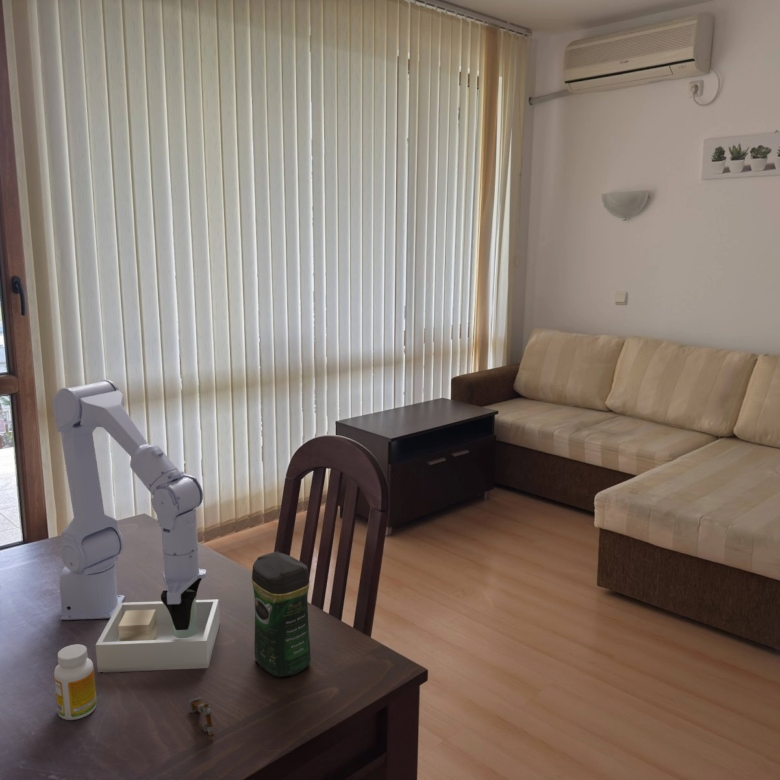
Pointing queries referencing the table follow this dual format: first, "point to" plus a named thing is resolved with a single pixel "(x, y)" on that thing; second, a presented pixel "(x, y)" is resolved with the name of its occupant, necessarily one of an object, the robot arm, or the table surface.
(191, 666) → the tote
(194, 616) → the sage cylinder
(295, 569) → the coffee jar
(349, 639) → the table surface
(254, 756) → the table surface
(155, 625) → the maple cube
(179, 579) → the robot arm
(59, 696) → the supplement bottle
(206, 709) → the wooden post with brackets
